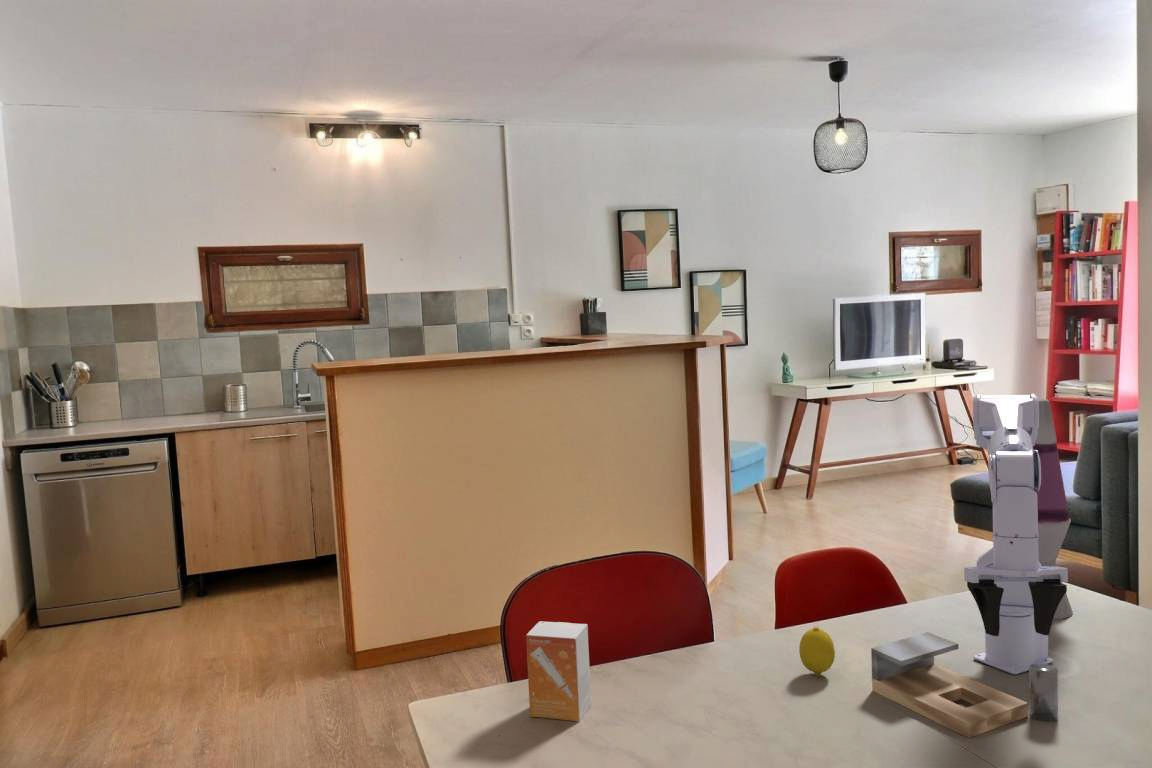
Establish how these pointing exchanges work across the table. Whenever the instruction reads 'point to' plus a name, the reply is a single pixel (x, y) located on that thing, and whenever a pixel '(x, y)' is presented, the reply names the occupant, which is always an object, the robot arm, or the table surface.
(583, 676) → the small box
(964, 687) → the socket board
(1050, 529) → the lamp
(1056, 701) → the peg
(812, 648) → the lemon
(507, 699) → the table surface
